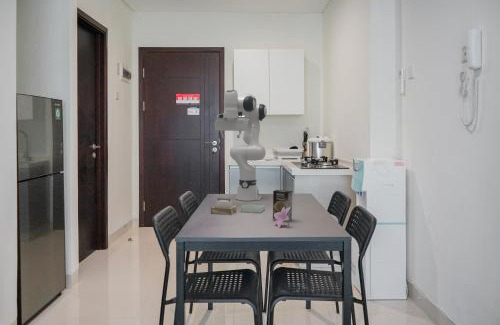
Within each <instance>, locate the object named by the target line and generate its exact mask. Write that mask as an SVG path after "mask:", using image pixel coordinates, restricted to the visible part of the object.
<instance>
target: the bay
mask: <svg viewBox="0 0 500 325" xmlns="http://www.w3.org/2000/svg"><path fill="white" fill-rule="evenodd" d="M235 213H237V205H232V207H231V208H216V205H213V206H211V207H210V214H212V215H226V214H228V216H231V215H233V214H235Z"/></svg>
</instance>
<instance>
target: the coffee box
mask: <svg viewBox="0 0 500 325" xmlns="http://www.w3.org/2000/svg"><path fill="white" fill-rule="evenodd" d="M272 194H273V195H272V220H273V221H276V220H277V219H276V218H275V217H274V214H275V213H277V212H281V210H282V208H283V207H284V209H287V208H289V207H290V209H289V211H288V212H287V214H286V215H287V216H288V218H289V219H288V220H287V221H286V220H284V221H283V222H286V223H287V222H288V223H289V222H290V221H292V220H293V190H287V189H283V190H282V189H275V190H273V192H272Z"/></svg>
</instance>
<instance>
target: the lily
mask: <svg viewBox="0 0 500 325" xmlns="http://www.w3.org/2000/svg"><path fill="white" fill-rule="evenodd" d="M289 209H290V207H289V208H287V209H284V207H283V208H282V210H281V212H277V213H275V214H274V217H275V218H276V219H277V220H274V223H273V226H276V225H277V228H278V229H280V228H281V225H282V224H283V222H286V221H287V220H288V219H289V218H288V216H287V215H286V214H287V212H288V211H289ZM284 220H286V221H284ZM286 223H287V225H288V226H289V225H290V224H289V221H288V222H286Z"/></svg>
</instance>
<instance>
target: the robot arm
mask: <svg viewBox="0 0 500 325" xmlns="http://www.w3.org/2000/svg"><path fill="white" fill-rule="evenodd" d="M223 106H224V110H223V113H220V114H217V115H216V120H215V122H214V130H215V132H216V131H219V132H220V134H221V138H222V139H225V138H226V137H225V134H223V133H224V131H226V132H228V131H229V132H230V131H232V132H233V131H234V132H238V134H237V135H236V138H237V139H240V137H241V134H242V132H243V137H242V139H243V142H244V143H245V144H236V145H232V146H231V148H230V150H229V155H230V157H231V159H232V160H234V161H235V163H236V164H237V166H238V169H239V171H238V172H239V180H238V183H239V184H238V187H237V188H236V196H235V197H234V199H235V200H238V201H248V202H251V201H261V200H262V198H263V197H262V195H259V194H260V190H259V188H258V186H257V179H256V169H255V167H254V166H253V165H251V164H249V162H248V161H261V160H263V159H264V158H265V157H266V152H267V151H266V149H265V147H264V146H263V145H262V144H260V142H259V141H260V140H259V136H260V131H261V130H260V128H261V127H260V126H261V125H260V122H262V121H263V119H265V118H266V117H267V112H268V110H267V106H266V105H265V104H263V103H257V98H256V96H254V95H253V94H252V93H243V94H241V95H240V96H238V91H237V90H235V89H233V90H226V91H225V93H224V98H223Z"/></svg>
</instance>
